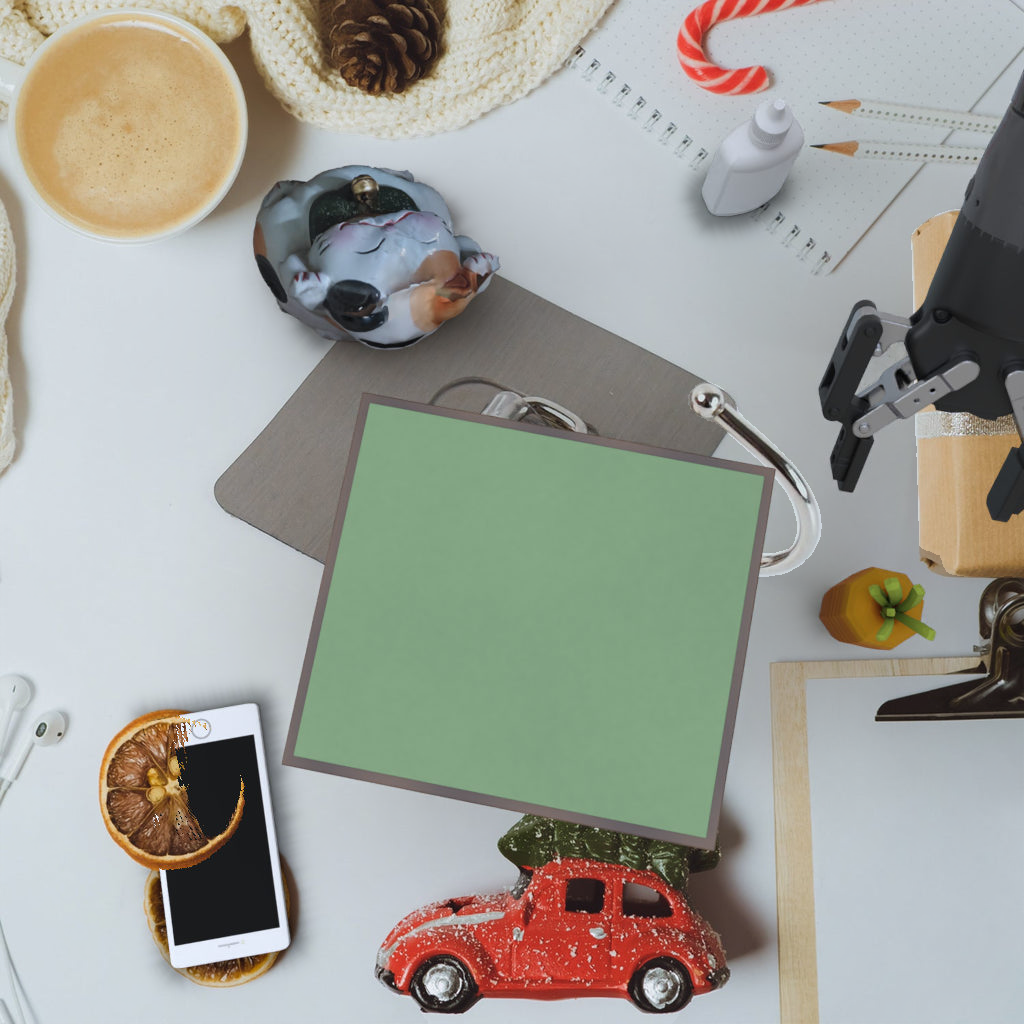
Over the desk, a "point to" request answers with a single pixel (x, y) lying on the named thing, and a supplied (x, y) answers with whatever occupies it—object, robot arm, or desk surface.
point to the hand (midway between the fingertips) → (919, 498)
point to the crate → (501, 802)
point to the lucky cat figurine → (367, 256)
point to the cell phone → (226, 846)
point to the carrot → (875, 610)
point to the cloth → (533, 619)
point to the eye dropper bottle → (753, 160)
